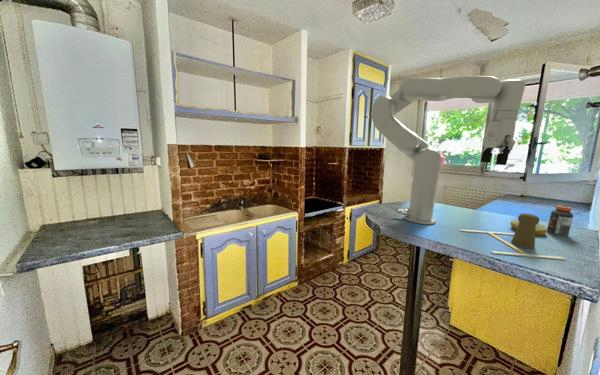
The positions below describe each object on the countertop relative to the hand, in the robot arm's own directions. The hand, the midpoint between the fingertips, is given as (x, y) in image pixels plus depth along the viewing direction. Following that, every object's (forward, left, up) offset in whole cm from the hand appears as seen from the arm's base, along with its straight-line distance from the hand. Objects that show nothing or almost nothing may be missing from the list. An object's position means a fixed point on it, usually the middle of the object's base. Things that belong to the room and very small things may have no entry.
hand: (492, 163), depth 92 cm
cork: (+6, -13, -27) cm, 31 cm away
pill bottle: (+29, +2, -27) cm, 40 cm away
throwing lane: (+1, -13, -27) cm, 30 cm away
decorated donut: (+19, +3, -27) cm, 33 cm away
